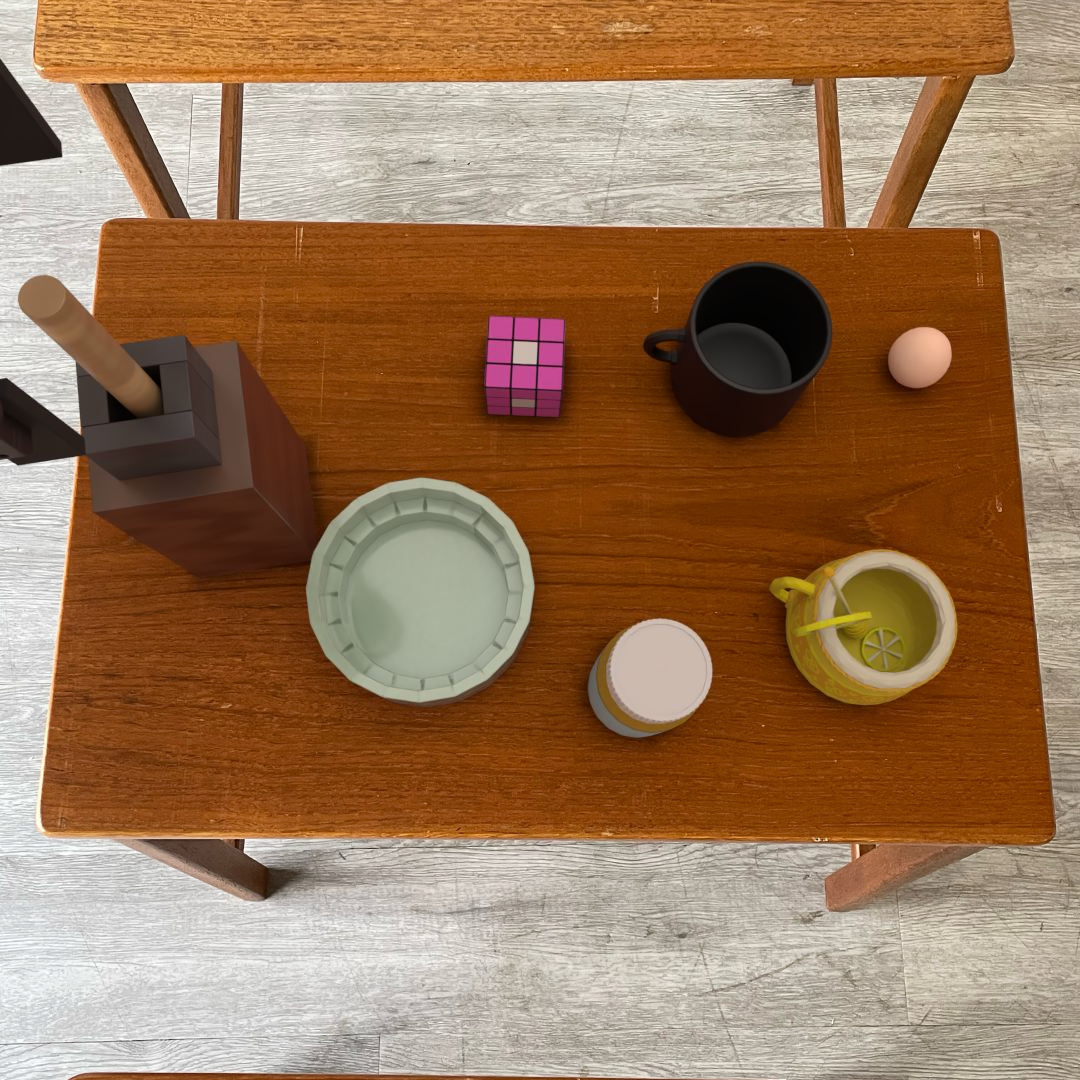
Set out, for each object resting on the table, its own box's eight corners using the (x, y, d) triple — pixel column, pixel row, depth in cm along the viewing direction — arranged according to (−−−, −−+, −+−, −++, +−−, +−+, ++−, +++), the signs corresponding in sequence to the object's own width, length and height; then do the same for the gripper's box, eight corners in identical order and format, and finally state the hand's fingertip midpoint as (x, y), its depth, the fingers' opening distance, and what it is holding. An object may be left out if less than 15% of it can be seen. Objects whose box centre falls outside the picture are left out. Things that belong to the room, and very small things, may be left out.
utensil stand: (200, 578, 77) (52, 488, 53) (188, 464, 79) (41, 327, 55) (320, 559, 78) (229, 461, 54) (305, 446, 80) (211, 302, 56)
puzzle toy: (562, 349, 82) (565, 318, 76) (559, 417, 81) (562, 391, 75) (490, 345, 82) (488, 314, 76) (486, 414, 81) (484, 387, 75)
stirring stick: (151, 441, 59) (18, 321, 43) (148, 408, 59) (15, 278, 44) (186, 436, 59) (67, 314, 43) (183, 403, 59) (63, 271, 44)
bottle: (613, 625, 77) (634, 591, 63) (697, 669, 77) (739, 644, 62) (570, 709, 76) (582, 694, 61) (656, 755, 75) (688, 750, 61)
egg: (942, 390, 82) (973, 362, 76) (889, 403, 82) (916, 376, 76) (924, 339, 83) (952, 308, 77) (871, 352, 82) (896, 321, 77)
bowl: (337, 723, 75) (321, 719, 69) (311, 517, 79) (294, 497, 73) (548, 687, 76) (551, 680, 70) (514, 485, 80) (513, 462, 74)
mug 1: (640, 310, 83) (655, 250, 73) (799, 324, 83) (835, 266, 73) (631, 429, 81) (646, 384, 71) (795, 444, 81) (831, 400, 71)
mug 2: (945, 599, 78) (1020, 568, 66) (891, 732, 76) (959, 724, 64) (789, 526, 79) (836, 483, 67) (732, 655, 77) (769, 633, 65)
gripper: (-219, 365, 20) (157, 573, 41) (-230, -576, 25) (107, 29, 46) (-624, 424, 20) (-37, 604, 40) (-548, -544, 25) (-64, 52, 46)
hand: (41, 298), depth 43 cm, fingers open, 13 cm apart
